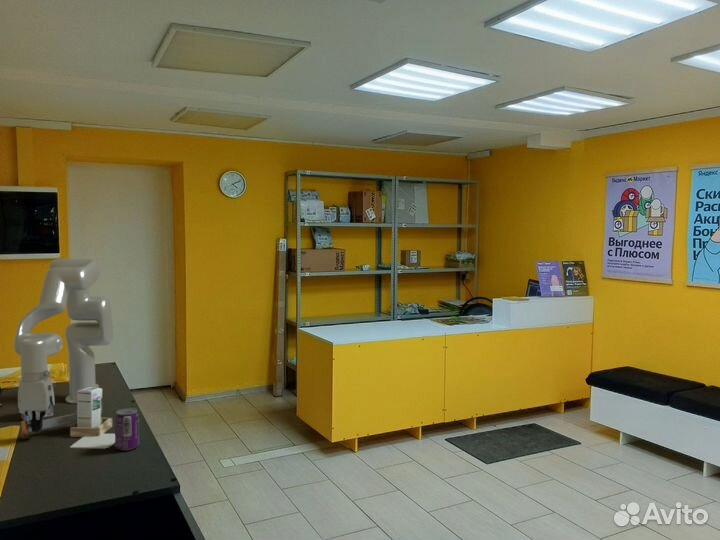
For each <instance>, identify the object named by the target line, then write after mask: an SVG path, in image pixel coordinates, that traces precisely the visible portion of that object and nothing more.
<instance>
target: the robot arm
mask: <svg viewBox="0 0 720 540" xmlns="http://www.w3.org/2000/svg"><path fill="white" fill-rule="evenodd" d="M100 274H101V266H100V263H99V262H98V261H97V260H95V259H90V258H86V259H85V258H60V259H55V260H53V261H51V262H50V264H49V269H48V270H47V271H46V274H45V278H44V281H43V286H42V289H41V294H40V296H39V297H40V298H39V302H38V304H37V305H36V306H35V307H34V308H33V309H31V310H30V311H29V312H28V313H27V314H26V315H24V317H22V319H21V321H20V322H19V324H18V325H17V326H18V327H17V330H16V335H15V337H14V345H13V347H14V351H15V353H16V354H17V355H19V356H20V372H21V373H20V374H21V375H20V376H21V380H20V381H19V382H18V383H19V384H18V390H17V408H18V413H20V414H21V413H23V414H26V415H27V416H28V417H29V421H30V422H31V428H32V433H33V432H36V433H37V432H39V431H40V430H43V429H42V426H43V422H42V420H43V418H42V417H44V415H45V414H50V413H52V412H53V413H54V406H55V404H56V403H55V401H56V400H55V392H54V385H53V386H52V384H53V383H52V379H51V377H52V372H49V370H48V357H53V356H56V355H57V354H59V353H60V352H61V351H62V348H63V346H64V341H63V338H62V336H61V335H59V334H57V333H53V332H49V333H48V332H46V333H45V332H44V333H43V332H42V333H41V332H40V333H31V332H32V330H33V329H34V328H35V327H36V326H37V325H38V324H40V323H41V322H43V321H45V320H48V319H50V318H52V317H55V316H57V315H60V314H62V313H64V311H65V310H66V312H67V316H68V318H69V319H70V320H72V321H79V322H73V323H70V324H69V325H67V327H66V329H65V340H66V343H67V344H66V345H67V351H68V379H69V382H68V383H69V395H67V396H66V397H65V402H66V403H68V404H77V391H78V390H82V389H85V388H88V387H98V388H100V387H99V384H98V383H96V356H95V353H94V352H93V350H92V349H91V348H90V347H91V346H92V347H93V346H94V347H95V346H96V347H97V346H107V345H110V344H111V343H112V342H113V339H114V328H113V327H114V326H113V316H112V315H113V314H112V306H111V303H110V301H109V299H108V298H106V297H104V296H91V294H90V290H89V288H90V287H91V286H92V285H93V284H94V283H96V281H98V279H99V277H100V276H101V275H100ZM90 321H91V322H90ZM93 321H94V322H93ZM52 407H53V408H52ZM36 411H37V412H36ZM44 418H45V417H44Z"/></svg>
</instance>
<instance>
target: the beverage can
mask: <svg viewBox="0 0 720 540" xmlns="http://www.w3.org/2000/svg"><path fill="white" fill-rule="evenodd" d="M139 417H140V415H139V413H138V409H137V408H133V407H129V408H127V407H126V408H122V409H121V408H120V409H118V410H116V414H115V417H114V434H115V443H114V447H115V448H116V449H117V450H119V451H124V452H125V451H131V450H134V449H135V448H137V447H138V446H140V422H139V421H140V418H139Z"/></svg>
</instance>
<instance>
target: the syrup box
mask: <svg viewBox="0 0 720 540" xmlns="http://www.w3.org/2000/svg"><path fill="white" fill-rule="evenodd" d="M76 410H77V427H93V428H97V427H98V426H100V425H101V424H102V418H103V388H101V387H88V388H85V389H82V390H78V391H77V403H76Z"/></svg>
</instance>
